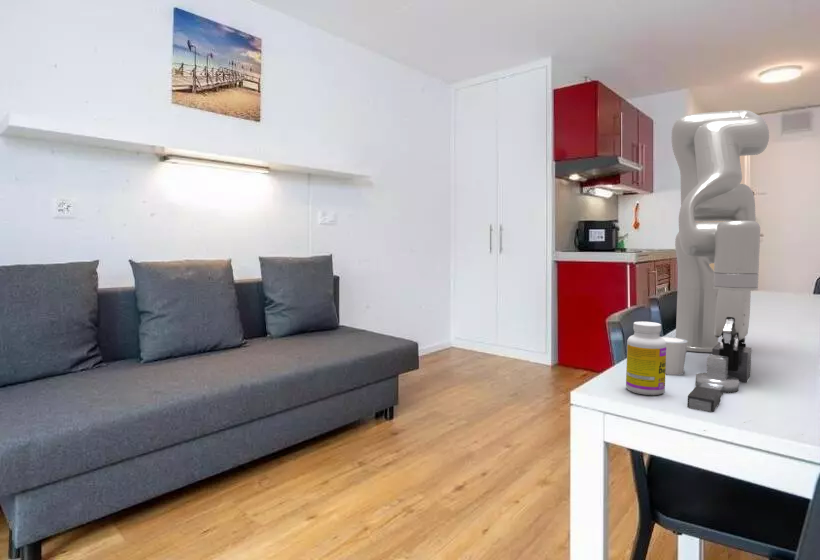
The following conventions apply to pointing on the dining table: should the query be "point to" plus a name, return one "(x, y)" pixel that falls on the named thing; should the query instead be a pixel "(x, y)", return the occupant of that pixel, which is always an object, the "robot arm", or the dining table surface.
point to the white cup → (675, 355)
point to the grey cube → (744, 363)
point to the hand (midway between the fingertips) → (732, 365)
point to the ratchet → (712, 385)
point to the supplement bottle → (646, 359)
